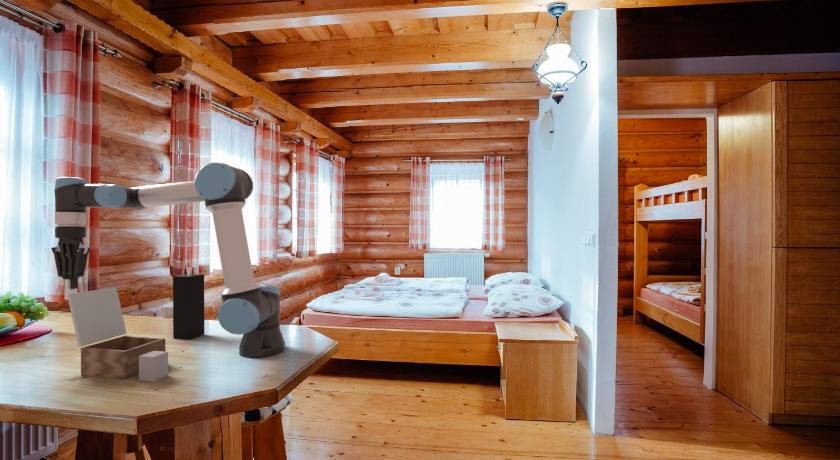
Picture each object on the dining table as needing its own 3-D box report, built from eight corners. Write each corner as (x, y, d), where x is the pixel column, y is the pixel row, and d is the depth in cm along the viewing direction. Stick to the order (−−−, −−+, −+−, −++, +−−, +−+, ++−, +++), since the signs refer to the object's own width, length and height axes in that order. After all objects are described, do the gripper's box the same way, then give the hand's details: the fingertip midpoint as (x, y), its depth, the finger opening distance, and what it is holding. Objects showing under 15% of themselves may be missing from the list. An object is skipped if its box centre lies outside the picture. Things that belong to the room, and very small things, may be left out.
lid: (116, 286, 132) (114, 287, 132) (69, 293, 118) (67, 294, 118) (126, 333, 131) (124, 334, 132) (81, 346, 117) (78, 347, 118)
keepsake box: (165, 363, 128) (165, 338, 128) (124, 379, 114) (124, 351, 114) (125, 359, 131) (125, 335, 131) (80, 374, 118) (80, 348, 118)
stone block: (168, 375, 118) (168, 351, 118) (153, 381, 113) (153, 357, 113) (154, 374, 119) (154, 350, 119) (139, 380, 114) (138, 356, 114)
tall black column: (189, 339, 154) (189, 268, 154) (172, 338, 156) (172, 267, 156) (204, 334, 162) (204, 266, 162) (188, 333, 164) (187, 265, 163)
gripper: (98, 225, 129) (98, 297, 129) (67, 225, 132) (67, 296, 132) (74, 225, 122) (74, 302, 122) (41, 225, 125) (42, 300, 125)
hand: (70, 298), depth 127 cm, fingers closed
